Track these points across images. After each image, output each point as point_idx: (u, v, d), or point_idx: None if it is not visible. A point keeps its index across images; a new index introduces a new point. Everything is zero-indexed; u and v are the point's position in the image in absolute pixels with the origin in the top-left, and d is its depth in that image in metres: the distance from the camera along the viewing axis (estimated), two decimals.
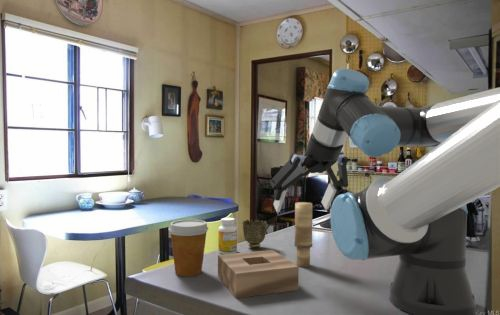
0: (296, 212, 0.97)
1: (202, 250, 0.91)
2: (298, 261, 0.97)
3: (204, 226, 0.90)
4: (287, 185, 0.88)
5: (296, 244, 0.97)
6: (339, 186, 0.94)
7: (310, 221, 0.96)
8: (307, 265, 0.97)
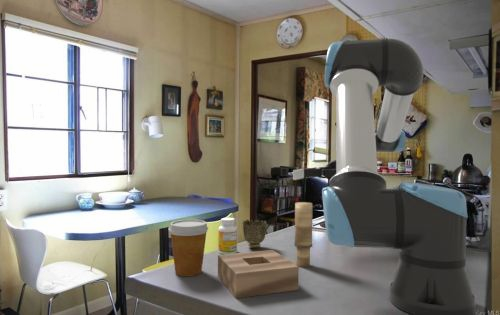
0: (296, 212, 0.97)
1: (202, 250, 0.91)
2: (298, 261, 0.97)
3: (204, 226, 0.90)
4: (305, 169, 1.17)
5: (296, 244, 0.97)
6: None
7: (310, 221, 0.96)
8: (307, 265, 0.97)
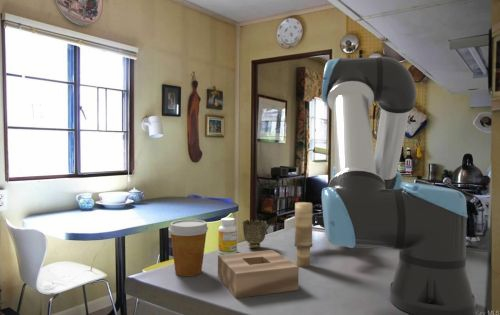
0: (296, 212, 0.97)
1: (202, 250, 0.91)
2: (298, 261, 0.97)
3: (204, 226, 0.90)
4: None
5: (296, 244, 0.97)
6: None
7: (310, 221, 0.96)
8: (307, 265, 0.97)
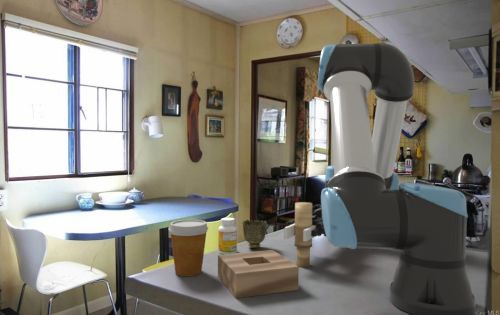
0: (296, 212, 0.97)
1: (202, 250, 0.91)
2: (298, 261, 0.97)
3: (204, 226, 0.90)
4: None
5: (296, 244, 0.97)
6: None
7: (310, 221, 0.96)
8: (307, 265, 0.97)
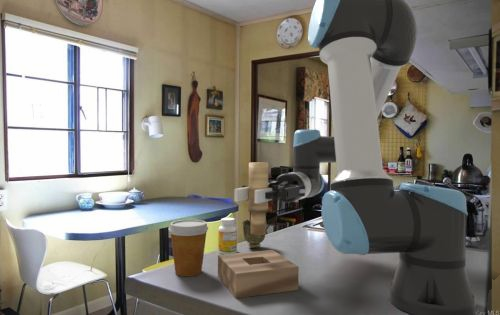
0: (249, 172, 0.85)
1: (202, 250, 0.91)
2: (252, 228, 0.85)
3: (204, 226, 0.90)
4: None
5: (249, 209, 0.85)
6: None
7: (265, 182, 0.84)
8: (262, 233, 0.85)
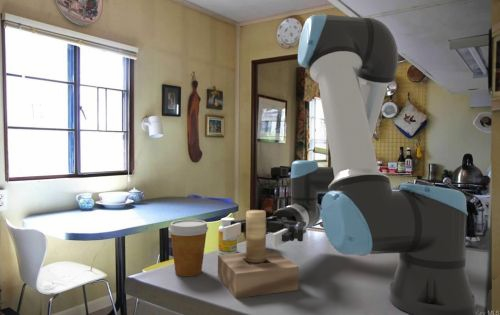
0: (247, 222, 0.84)
1: (202, 250, 0.91)
2: None
3: (204, 226, 0.90)
4: (244, 222, 0.92)
5: (247, 258, 0.84)
6: None
7: (263, 232, 0.84)
8: None
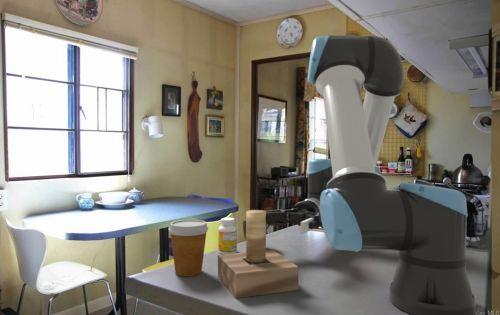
0: (247, 221, 0.84)
1: (202, 250, 0.91)
2: None
3: (204, 226, 0.90)
4: (268, 212, 1.04)
5: (247, 258, 0.84)
6: None
7: (263, 232, 0.84)
8: None
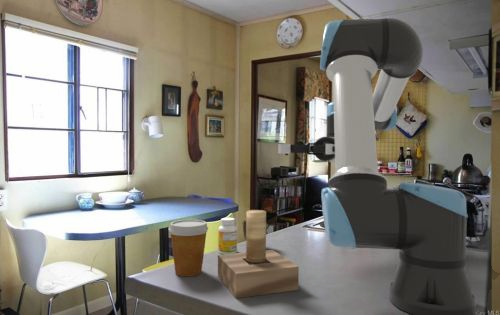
0: (247, 222, 0.84)
1: (202, 250, 0.91)
2: None
3: (204, 226, 0.90)
4: None
5: (247, 258, 0.84)
6: None
7: (263, 232, 0.84)
8: None
